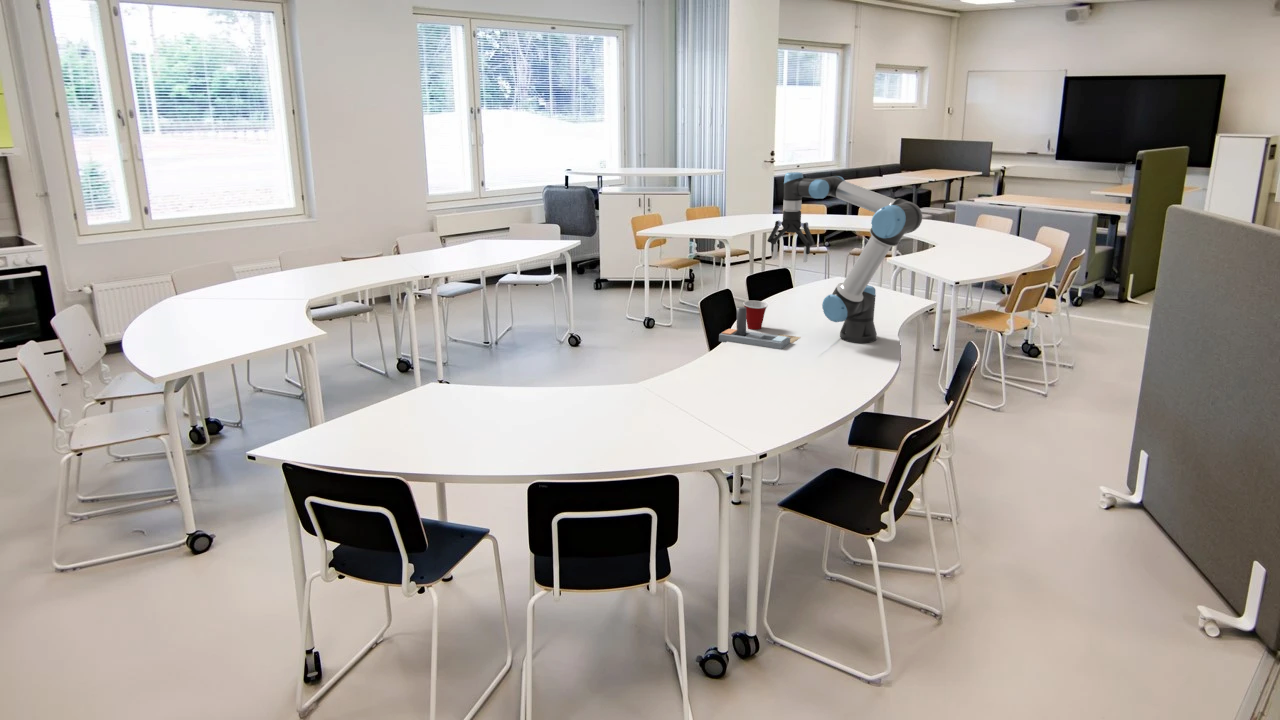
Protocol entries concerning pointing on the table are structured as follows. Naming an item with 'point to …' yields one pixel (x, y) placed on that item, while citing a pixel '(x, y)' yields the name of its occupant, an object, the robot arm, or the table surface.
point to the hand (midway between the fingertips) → (790, 260)
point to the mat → (792, 338)
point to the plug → (741, 321)
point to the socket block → (755, 339)
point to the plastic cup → (755, 313)
